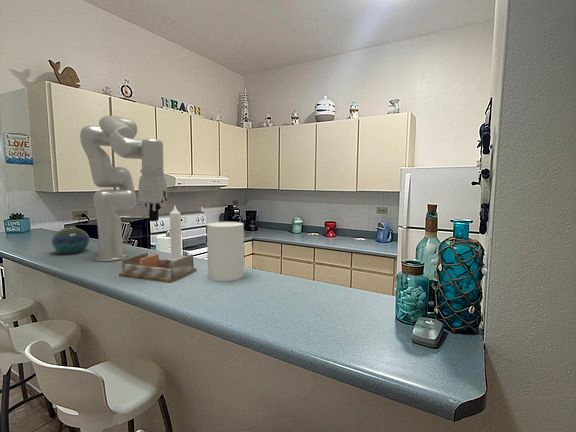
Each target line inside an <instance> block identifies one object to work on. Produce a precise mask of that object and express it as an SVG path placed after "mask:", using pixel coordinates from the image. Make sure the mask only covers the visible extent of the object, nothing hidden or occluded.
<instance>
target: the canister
mask: <svg viewBox="0 0 576 432" xmlns="http://www.w3.org/2000/svg"><path fill="white" fill-rule="evenodd" d="M244 225H245V224H244V223H243V222H239V221H217V222H216V221H214V222H209V223H207V224H206V238H207V239H206V242H207V243H206V244H207V246H206V248H207V249H206V251H207V278H208V279H209V280H212V281H214V282H215V281H216V282H231V281H233V282H234V281H235V280H240V279H242V278H244V276H245V258H244V257H245V252H244V251H245V249H244V248H245V246H244V244H245V240H244V236H245V235H244V234H245V231H244V230H245V229H244Z"/></svg>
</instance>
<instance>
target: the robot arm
mask: <svg viewBox="0 0 576 432" xmlns="http://www.w3.org/2000/svg"><path fill="white" fill-rule="evenodd" d="M137 133H138V126H137V124H136V122H135V121H134V120H133V119H132V118H127V117H123V116H117V115H104V116H103V117H101V118H100V119H99V122H98V125H86V126H83V127H82V128H81V130H80V134H79V135H80V136H79V139H80V140H79V141H80V144H81V147H82V149H83V152H84V153H85V155H86V156H87V159H88V164H89V168H90V169H89V170H90V172H91V177H92V181H93V183H94V185H95V186H96V187H98V188H103V189H100V190H97V191H96V192H95V193H94V194H93V205H94V207H95V208H94V209H95V213H96V221H97V224H96V225H97V240H98V241H97V242H98V247H97V248H96V249H94V251H93V253H94V254H97V256H95V261H97V262H115V261H116V262H117V261H122V259H125V258H128V257H127V256H128V254H127V253H125V252H124V249H123V248H124V246H123V230H122V228H123V227H122V218H121V217H120V215H119V214H118V213H117V212H116V211H122V210H132V209H134V208H135V207H136V205H137V199H138V201H139V203H140V205H142V206H145V208H146V209H147V211H148V221H149V222H158V221H159V211H160V210H161V208H163V207H166V206H167V200H168V187H167V182H166V176H164V143H163V141H162V140H161V139H155V138H154V139H153V138H144V139H141V138H135V137H136V136H137ZM101 146H103V147H110V148H111V150H112V151H113V152H114V153H115V154H116V155H118V156H119V157H120V158H123V159H135V160H141V169H140V173H141V174H142V175H140V176H139V180H138V188H137V189H138V192H137V193H138V194H137V195H136V190H135V184H134V181H133V178H132V173H131V172H130V171H129V169H127V168H125V167H122V166H113V165H112V162H111V158H110V155H109V154H108V153H107V152H106V151H105V150H104V149H103V148H102V147H101ZM104 188H105V189H104ZM107 188H108V189H107ZM109 188H111V189H109ZM115 188H116V189H115ZM117 188H118V189H117ZM137 197H138V198H137ZM123 252H124V253H123Z"/></svg>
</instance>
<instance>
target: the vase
mask: <svg viewBox="0 0 576 432" xmlns="http://www.w3.org/2000/svg"><path fill="white" fill-rule="evenodd" d="M89 244H90V236H89V234H88V233H87V232H86V231H85V230H83V229H81V228H77V227H76V225H74V224H73V225H72V224H69V225H65V226H64V228H63V229H62V228H61V230H59V231H57V232H55V234H54V235H53V236H52V237H51V245H52V247H53V249H54V250H55V251H56V252H58V253H60V254H64V255H65V254H66V255H67V254H68V255H69V254H77V253H81V252H83V251H84V250H86V249H87V247H88V246H89Z"/></svg>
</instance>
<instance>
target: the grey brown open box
mask: <svg viewBox="0 0 576 432" xmlns="http://www.w3.org/2000/svg"><path fill="white" fill-rule="evenodd" d="M148 256H149V252H143V253H139V254H136V255H132V256H130V257H129V256H128V257H126V258H124V259H121V267H122V272H120V273H118V277H121V278H122V277H123V278H129V277H130V278H131V279H139V280H147V281H156V282H162V283H172V282H175V281H177V280H179V279H181V278H183V277H186V276H188V275H190V274H192V273H195V272H196V271H197V268H196V267H194V254H192V253H190V254H188V255H184V256H182V258H179V259H177V260H169V258H167V259H166V258H159V266H158V267H149V266H140V262H139V259H142V258H145V257H148Z"/></svg>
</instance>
